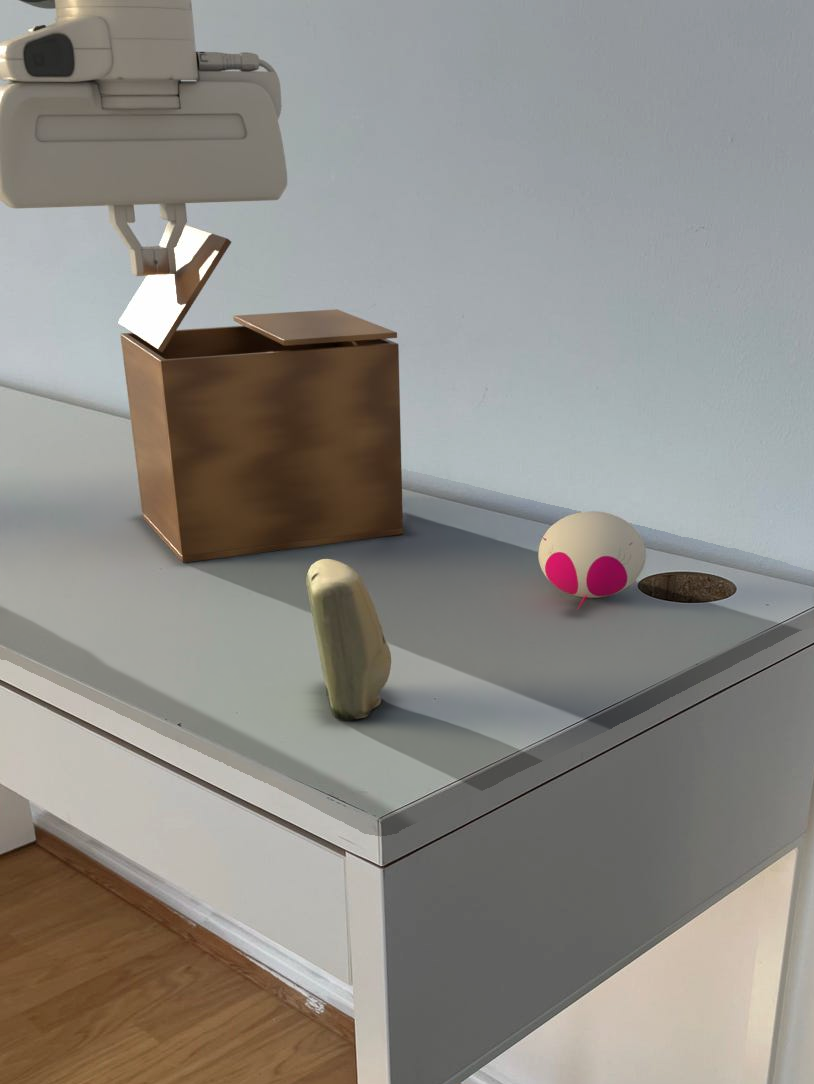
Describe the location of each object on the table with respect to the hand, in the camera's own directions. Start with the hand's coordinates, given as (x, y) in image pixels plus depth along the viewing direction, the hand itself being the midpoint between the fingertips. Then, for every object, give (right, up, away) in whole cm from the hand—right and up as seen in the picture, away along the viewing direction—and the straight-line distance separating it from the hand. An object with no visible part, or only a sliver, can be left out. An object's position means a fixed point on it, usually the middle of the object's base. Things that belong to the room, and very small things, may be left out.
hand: (154, 274), depth 96 cm
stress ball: (+31, -24, -2) cm, 39 cm away
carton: (+7, -15, +13) cm, 21 cm away
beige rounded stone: (+16, -33, -18) cm, 41 cm away
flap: (+1, 0, +1) cm, 2 cm away
